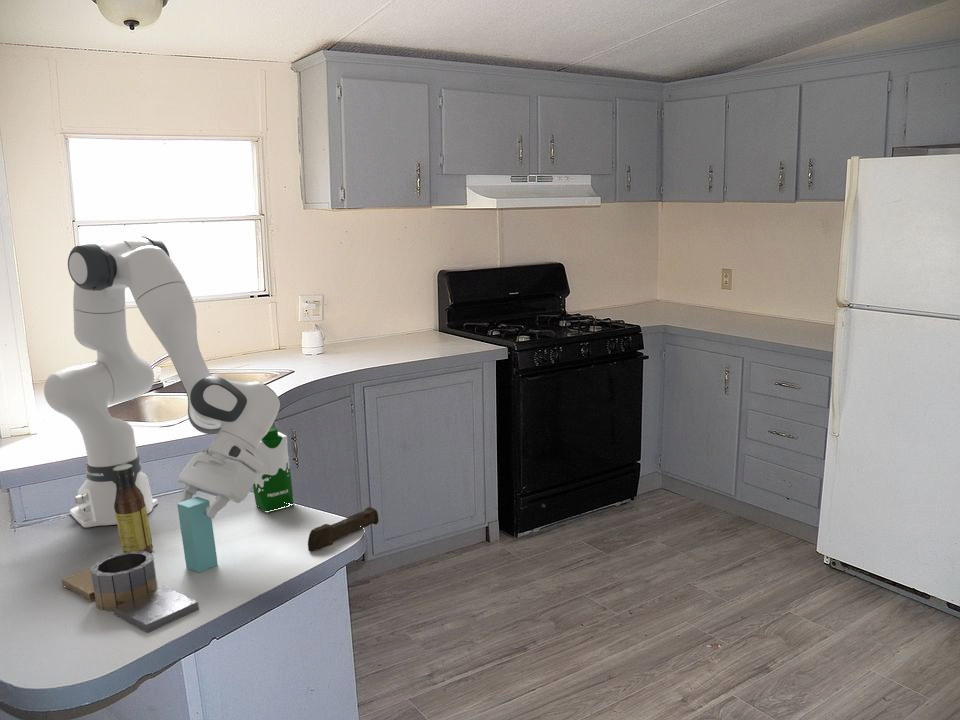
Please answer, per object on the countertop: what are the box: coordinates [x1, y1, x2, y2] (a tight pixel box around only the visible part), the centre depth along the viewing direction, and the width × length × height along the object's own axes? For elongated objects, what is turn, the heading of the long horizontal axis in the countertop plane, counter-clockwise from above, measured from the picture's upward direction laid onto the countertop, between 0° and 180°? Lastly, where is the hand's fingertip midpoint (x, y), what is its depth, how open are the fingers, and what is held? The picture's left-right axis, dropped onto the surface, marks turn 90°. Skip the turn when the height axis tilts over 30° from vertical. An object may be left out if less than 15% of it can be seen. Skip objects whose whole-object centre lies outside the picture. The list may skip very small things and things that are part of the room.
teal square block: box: [177, 496, 218, 573], centre depth 167 cm, size 4×4×14 cm
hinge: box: [61, 551, 200, 634], centre depth 155 cm, size 34×11×7 cm, turn 50°
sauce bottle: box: [113, 464, 154, 553], centre depth 175 cm, size 6×6×20 cm
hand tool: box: [307, 506, 379, 552], centre depth 178 cm, size 19×4×5 cm, turn 139°
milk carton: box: [252, 426, 294, 512], centre depth 199 cm, size 9×9×20 cm
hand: (195, 512), depth 166 cm, fingers open, 8 cm apart
